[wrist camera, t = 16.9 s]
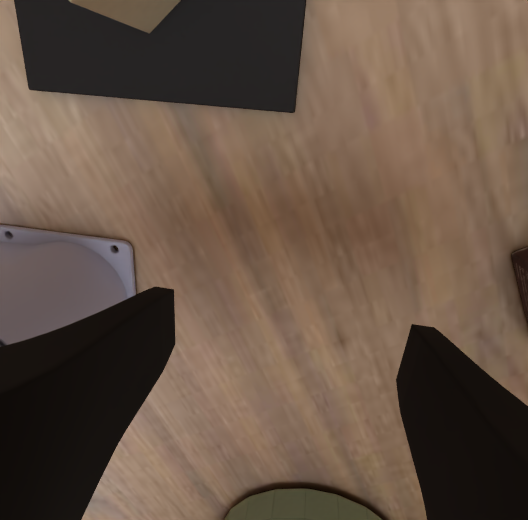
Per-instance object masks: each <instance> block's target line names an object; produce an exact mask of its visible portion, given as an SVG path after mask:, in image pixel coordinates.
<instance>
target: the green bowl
mask: <svg viewBox="0 0 528 520" xmlns="http://www.w3.org/2000/svg"><path fill="white" fill-rule="evenodd" d="M224 520H382V519H381V518H380V517H379V516H377V515H376V514H375V513H373V512H372V511H371V510H369V509H368V508H366V507H365V506H362V505H360V504H358V503H355V502H353V501H351V500H348V499H346V498H344V497H341V496H339V495H337V494H332V493H327V492H322V491H317V490H311V489H276V490H271V491H267V492H263V493H260V494H256V495H252V496H249V497H248V498H246V499H245V500H243V501H242V502H240V503H239V504H237V505H236V506H234V507H233V508H231V510H230V511H229V513H228V514H227V516H226V518H225V519H224Z"/></svg>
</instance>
